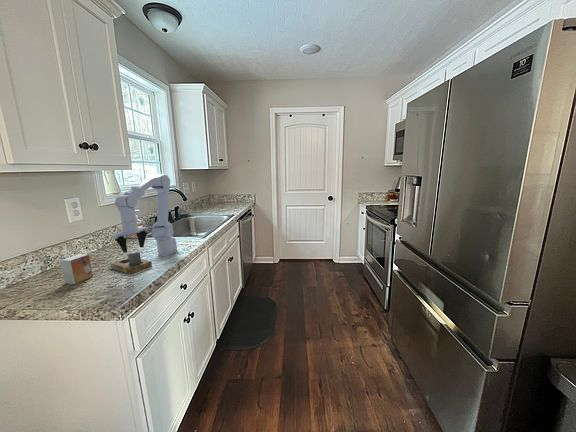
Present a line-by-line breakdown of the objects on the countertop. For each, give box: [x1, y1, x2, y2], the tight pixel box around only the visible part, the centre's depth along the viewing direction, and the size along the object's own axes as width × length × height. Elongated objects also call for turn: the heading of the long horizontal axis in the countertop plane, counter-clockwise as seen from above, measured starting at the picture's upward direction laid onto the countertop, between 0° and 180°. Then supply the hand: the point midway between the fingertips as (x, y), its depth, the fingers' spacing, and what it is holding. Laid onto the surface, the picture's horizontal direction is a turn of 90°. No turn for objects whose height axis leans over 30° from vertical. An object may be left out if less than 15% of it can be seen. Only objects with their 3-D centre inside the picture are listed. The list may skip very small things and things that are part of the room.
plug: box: [127, 250, 142, 266], centre depth 114 cm, size 4×4×8 cm
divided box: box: [110, 257, 153, 276], centre depth 116 cm, size 10×16×3 cm, turn 62°
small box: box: [59, 253, 94, 285], centre depth 104 cm, size 8×6×10 cm
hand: (133, 249), depth 113 cm, fingers open, 7 cm apart
